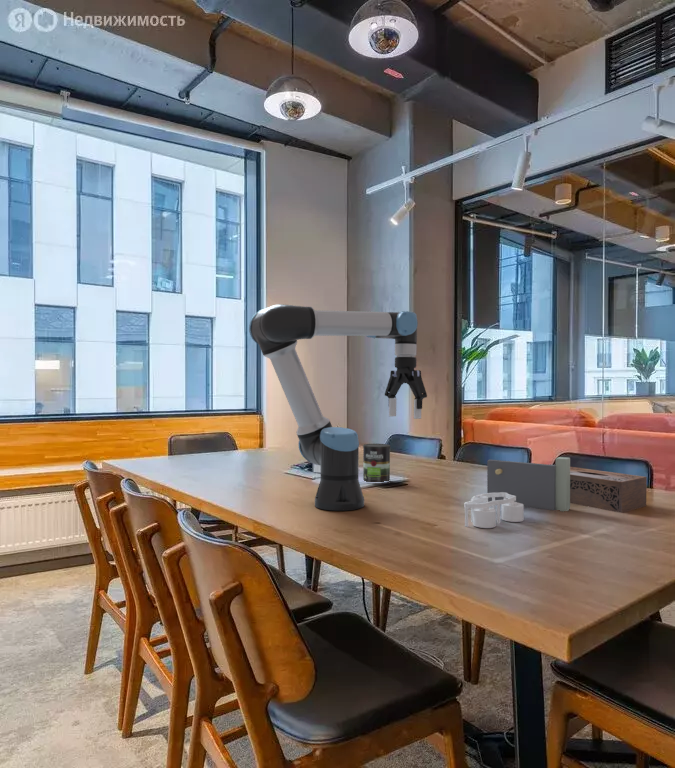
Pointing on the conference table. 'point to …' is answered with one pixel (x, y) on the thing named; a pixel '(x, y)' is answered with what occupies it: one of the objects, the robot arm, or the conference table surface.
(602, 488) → the tissue box cover
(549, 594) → the conference table surface
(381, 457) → the coffee can
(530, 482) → the door leaf
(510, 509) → the white framed double cylinder
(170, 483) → the conference table surface
